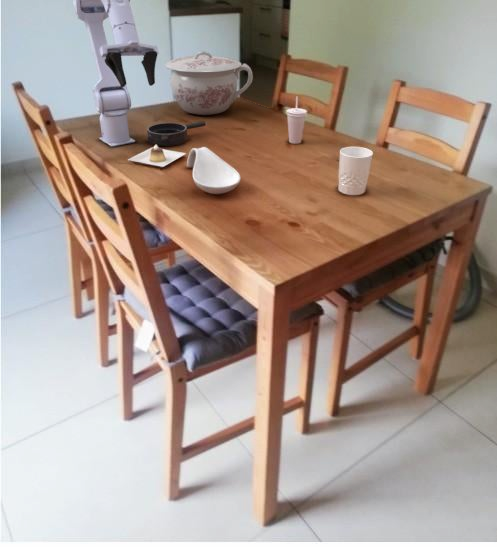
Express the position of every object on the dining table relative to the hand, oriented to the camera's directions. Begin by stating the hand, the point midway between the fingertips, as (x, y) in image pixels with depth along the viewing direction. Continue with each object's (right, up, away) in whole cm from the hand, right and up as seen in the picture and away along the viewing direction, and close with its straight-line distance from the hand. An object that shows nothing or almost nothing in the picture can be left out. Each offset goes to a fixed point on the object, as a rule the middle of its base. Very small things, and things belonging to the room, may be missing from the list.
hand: (138, 84), depth 122 cm
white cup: (+53, -26, +3) cm, 59 cm away
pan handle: (+10, +1, +38) cm, 39 cm away
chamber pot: (+11, +14, +64) cm, 67 cm away
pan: (+2, -5, +34) cm, 35 cm away
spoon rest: (+17, -23, +7) cm, 29 cm away
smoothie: (+42, -5, +34) cm, 55 cm away
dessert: (+1, -14, +20) cm, 24 cm away
